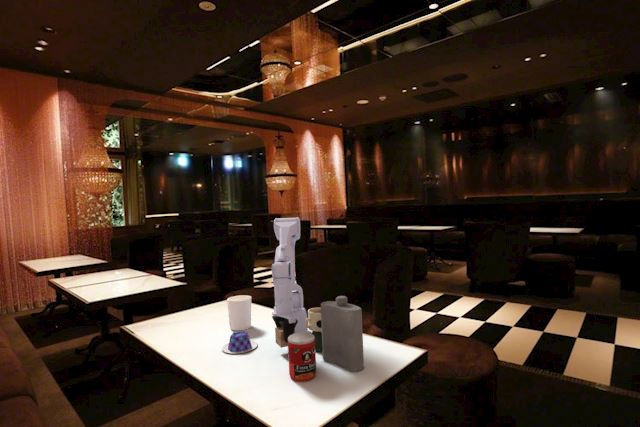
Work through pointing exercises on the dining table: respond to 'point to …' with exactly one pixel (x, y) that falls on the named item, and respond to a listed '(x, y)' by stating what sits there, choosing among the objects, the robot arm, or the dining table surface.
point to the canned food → (302, 356)
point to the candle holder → (239, 312)
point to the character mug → (315, 326)
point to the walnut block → (280, 337)
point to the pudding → (239, 343)
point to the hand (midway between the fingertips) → (285, 339)
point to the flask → (342, 334)
